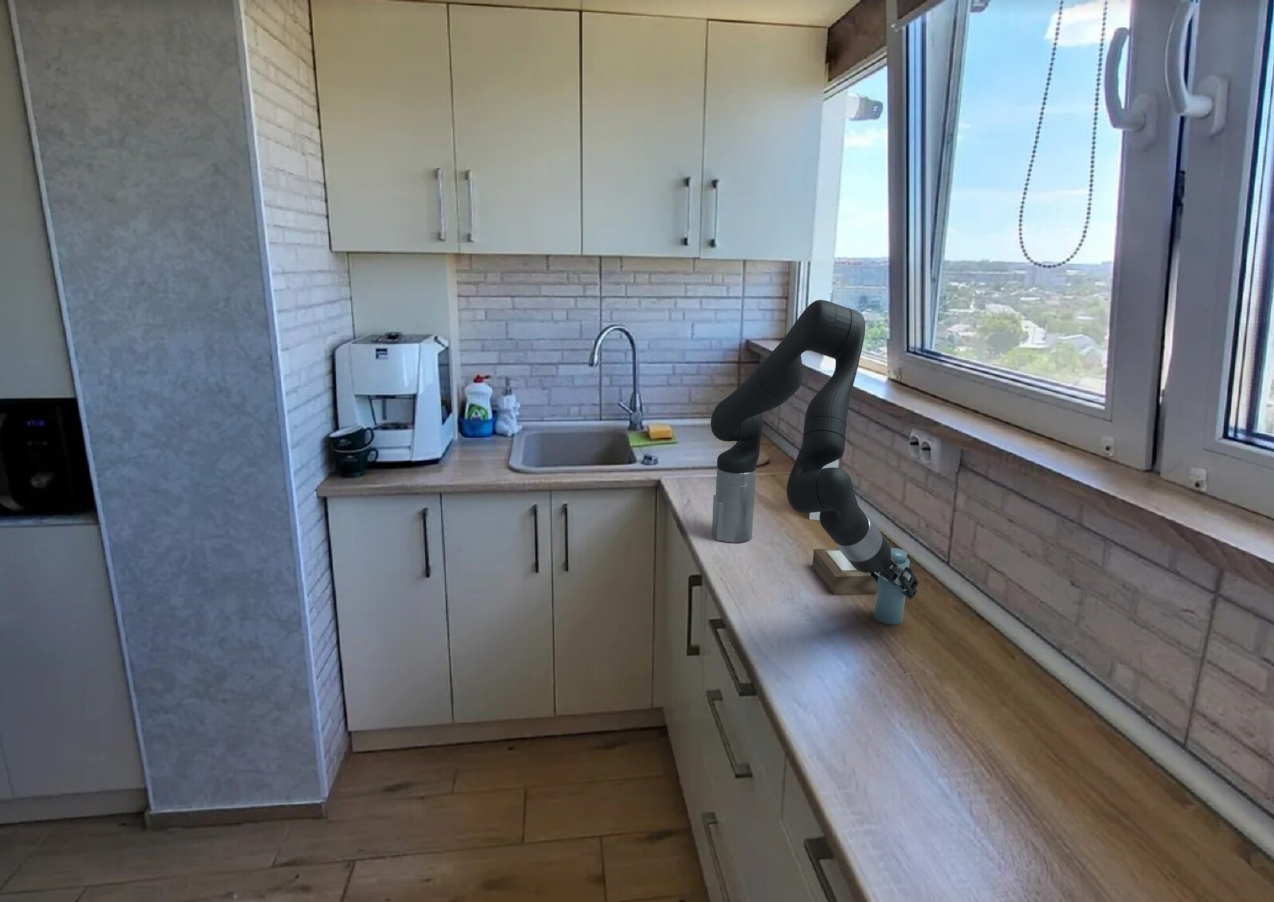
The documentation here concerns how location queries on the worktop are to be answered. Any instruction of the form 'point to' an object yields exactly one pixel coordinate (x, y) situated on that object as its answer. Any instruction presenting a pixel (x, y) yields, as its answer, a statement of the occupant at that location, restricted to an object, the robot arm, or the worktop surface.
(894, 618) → the blue capped bottle
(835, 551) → the plinth
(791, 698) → the worktop surface
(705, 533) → the worktop surface
